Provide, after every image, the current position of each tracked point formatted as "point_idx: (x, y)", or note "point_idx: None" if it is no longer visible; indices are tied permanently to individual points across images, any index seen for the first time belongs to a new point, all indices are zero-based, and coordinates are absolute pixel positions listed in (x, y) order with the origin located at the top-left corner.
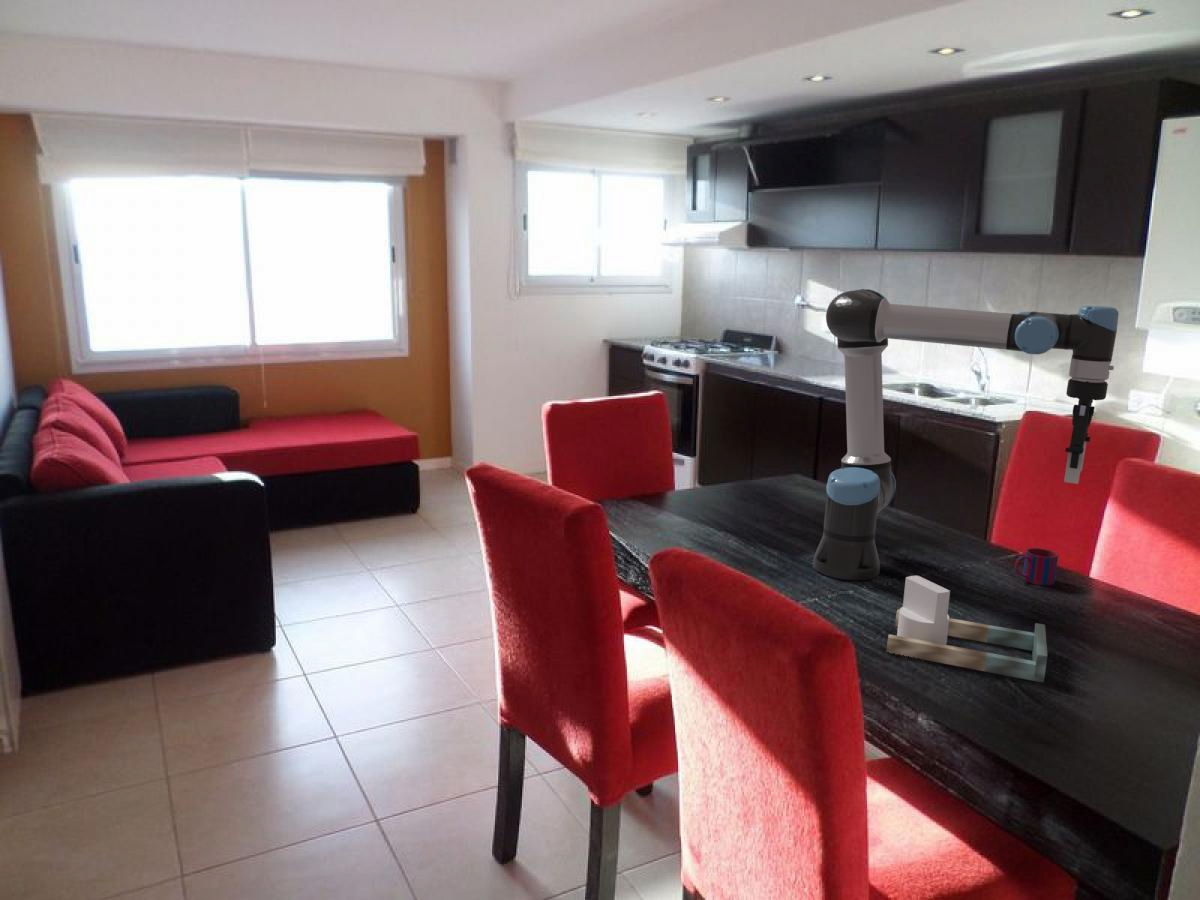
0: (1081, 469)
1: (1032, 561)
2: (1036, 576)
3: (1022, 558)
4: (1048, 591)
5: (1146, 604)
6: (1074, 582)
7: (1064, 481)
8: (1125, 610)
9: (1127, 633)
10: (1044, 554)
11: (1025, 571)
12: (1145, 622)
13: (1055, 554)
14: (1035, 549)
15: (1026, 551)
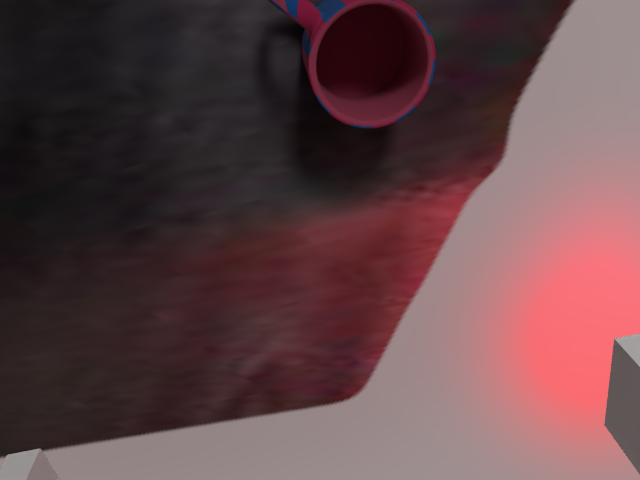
0: (613, 433)
1: (309, 41)
2: (303, 57)
3: (278, 6)
4: (264, 107)
5: (358, 326)
6: (417, 146)
7: (6, 461)
8: (270, 302)
9: (102, 340)
10: (421, 59)
11: (319, 9)
12: (218, 351)
13: (397, 111)
14: (415, 23)
15: (343, 3)
